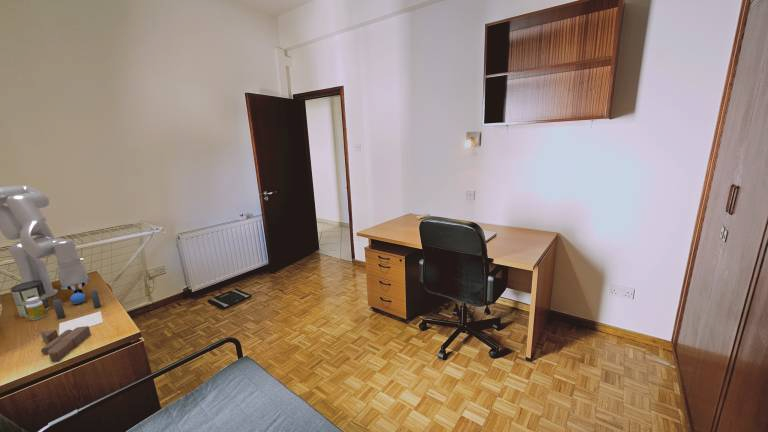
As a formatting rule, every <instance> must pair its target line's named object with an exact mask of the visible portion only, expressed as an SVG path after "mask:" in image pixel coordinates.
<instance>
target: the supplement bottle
mask: <svg viewBox="0 0 768 432" xmlns="http://www.w3.org/2000/svg"><path fill="white" fill-rule="evenodd" d="M26 302H27V305H26V309H27V312H28V316H27V317H28V319H29V320H30V321H37V320H41V319H44V317H47V312H46V311H47V310H46V311H45V308H44V305H43V302H42V301H39V297H33V298H29V299H27V300H26Z"/></svg>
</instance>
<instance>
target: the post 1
mask: <svg viewBox="0 0 768 432" xmlns="http://www.w3.org/2000/svg"><path fill="white" fill-rule="evenodd" d="M51 302H52V306H53V308H54V312H55V314H56V319H57V320H61V319H64V318H66V314H65V313H66V312H65V311H64V307H63V303H62V299H61V298H57V299H53V300H52V301H51Z"/></svg>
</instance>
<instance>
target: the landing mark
mask: <svg viewBox="0 0 768 432" xmlns="http://www.w3.org/2000/svg"><path fill="white" fill-rule="evenodd" d="M103 323H104V320H103V316H102V312H101V310H100V311H97V312H94V313H89V314H85V315H83V316H80V317H77V318H74V319H73V318H72V319H70V320H66V321H63V322H60V323H58V324H59V326H58V328H59V329H58V336H59V335H61V334H62V333H63V332H65V331H66V330H72V331H73V330H74V329H75V328H77V327H84V326H89V328H91V327H94V326H97V325H102V324H103Z"/></svg>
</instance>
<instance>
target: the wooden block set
mask: <svg viewBox="0 0 768 432" xmlns="http://www.w3.org/2000/svg"><path fill="white" fill-rule="evenodd" d="M40 334H41V335H40V336H41V338H42V340H43V342H44V343H45V344H46V345H45V346H44V347H42V348H41V349H40V352H41V354H42V355H48V356H49V359H50V361H51V362H53V363H54V362H60V361H61V360H62V359H63V358H64V357H65V356H66V355H68V354H70V352H71V351H73V350H74V349H75V348H77V347H78V346H79V345H81V344H82V343H83V342H84V341H85V340H86V339H88V337H90V336H91V335H92V334H91V330H90V327H89V326H84V327H77V328H75V329H74V330H73V331H72V330H66V331H65V332H63V333H62V334H61V335H59V332H58V330H57V329H50V330H49V329H48V330H41V331H40Z"/></svg>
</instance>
